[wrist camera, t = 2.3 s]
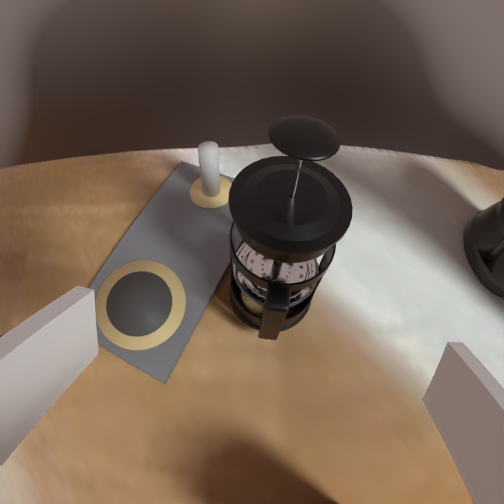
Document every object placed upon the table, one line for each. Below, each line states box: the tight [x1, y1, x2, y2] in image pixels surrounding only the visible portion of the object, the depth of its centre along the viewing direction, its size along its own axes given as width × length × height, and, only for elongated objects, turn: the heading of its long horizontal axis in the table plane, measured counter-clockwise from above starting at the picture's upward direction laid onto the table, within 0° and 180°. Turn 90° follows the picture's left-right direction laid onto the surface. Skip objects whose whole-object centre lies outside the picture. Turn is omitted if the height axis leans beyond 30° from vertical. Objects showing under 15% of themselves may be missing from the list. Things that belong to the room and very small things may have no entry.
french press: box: [228, 115, 352, 340], centre depth 27 cm, size 12×9×23 cm
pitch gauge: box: [89, 141, 243, 384], centre depth 35 cm, size 14×28×9 cm, turn 156°
